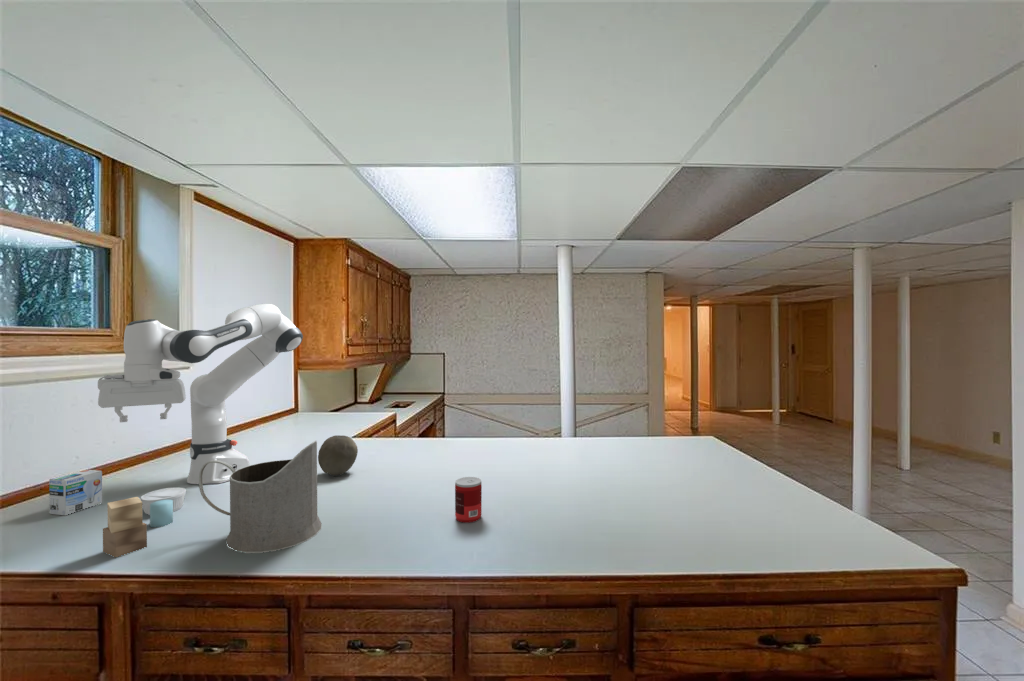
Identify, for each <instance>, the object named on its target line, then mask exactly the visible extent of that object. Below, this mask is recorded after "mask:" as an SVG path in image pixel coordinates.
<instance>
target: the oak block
mask: <svg viewBox="0 0 1024 681" xmlns="http://www.w3.org/2000/svg"><path fill="white" fill-rule="evenodd" d="M106 505H107V527H108V528H109V530H110V532H111V533H115V532H119V531H123V530H127V529H132V528H136V527H140V526H143V523H144V521H143V505H142V501H141V498H139V496H134V497H129V498H124V499H120V500H115V501H110V502H107V503H106Z"/></svg>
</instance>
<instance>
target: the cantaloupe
mask: <svg viewBox="0 0 1024 681" xmlns="http://www.w3.org/2000/svg"><path fill="white" fill-rule="evenodd" d="M358 450H359V449H358V446H357V444H356V442H355V441H354V439H352V438H351V437H350V436H347V435H332V436H330V437H328V438H327V439H325V440H324V441H323V443H322V444H321V446H320V448H319V449H318V453H317V463H318V466H319V467H320V469H321V471H323V473H325V474H327V475H331V476H333V477H338V476H341V475H344V474H345V473H347V472H348V471H349V470H350V469H351V468H352V466H353V465H354V464H355V462H356V460H357V456H358Z"/></svg>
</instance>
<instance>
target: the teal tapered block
mask: <svg viewBox="0 0 1024 681" xmlns="http://www.w3.org/2000/svg"><path fill="white" fill-rule="evenodd" d="M173 517H174V512H173V500H160V501H156V502H153V503H151V504H150V515H149V527H150V528H161V526H162V527H166V526H169V525H171V524H172V523H173V521H174V520H173V519H174V518H173ZM170 523H171V524H170ZM168 524H169V525H168ZM165 525H166V526H165Z"/></svg>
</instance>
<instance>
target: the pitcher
mask: <svg viewBox="0 0 1024 681" xmlns="http://www.w3.org/2000/svg"><path fill="white" fill-rule="evenodd" d="M209 463H219V464H222V465H225V466H226V467H228V468H229V469H230V470H231V471H232V474H231V476H230V480H229V512H228V511H226V510H224V509H221V508H219V507H218V506H217V505H215V504H214V503H213V502H212V501H211V500H210V498H209V497H207V496H206V493H205V491H204V487H203V486H204V484H203V483H202V475H203V470H204V468H205V466H206V465H207V464H209ZM198 485H199V492H200V496H201V497H202V499H203V500H204V501H205V502H206V503H207V504H208V506H210V507H211V508H212V509H213V510H215V511H217V512H219V513H221V514H223V515H226V516H229V521H230V522H229V523H230V524H229V526H230V528H229V530H230V531H229V533H228V536H227V538H226V540H225V542H226V541H227V544H228V546H229V547H231V548H233V549H234V550H237V551H242V552H246V553H245V554H263V552H264V553H269V551H271V552H276V550H278V551H281V550H280V549H282V550H286V549H289V548H292V546H293V547H295V545H296V546H297V545H301V544H302V543H305V542H307V541H309V540H311V539H313V538H314V537H315V536H317V535H318V534H319V532H320V531H321V530H322V526H323V524H322V522H321V520H320V517H319V515H318V441H317V440H314V441H313V442H311V443H309V444H308V445H307V446H305V447H304V448H302V449H301V450H300V451H299V452H298V453H297V454H296V455H295V456H294V457H293V458H291V459H281V460H271V461H266V462H260V463H255V464H250V466H247V467H244V468H241V469H239V470H237V471H235V470H234V468H233V467H232V466H230V465H229V464H227V463H225V462H222V461H217V460H213V461H209V462H207V463H205V464H204V465H203V466H202V468H201V470H200V473H199V484H198ZM242 552H241V553H242Z"/></svg>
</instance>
